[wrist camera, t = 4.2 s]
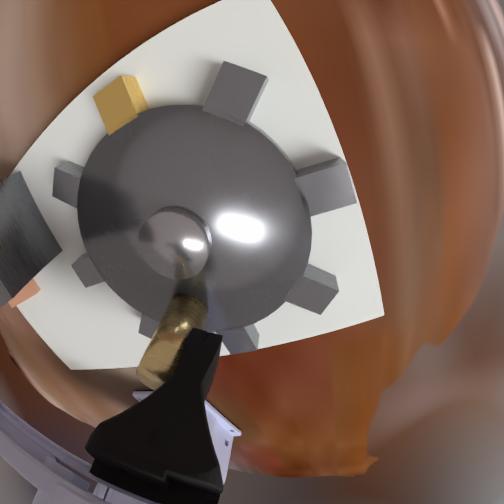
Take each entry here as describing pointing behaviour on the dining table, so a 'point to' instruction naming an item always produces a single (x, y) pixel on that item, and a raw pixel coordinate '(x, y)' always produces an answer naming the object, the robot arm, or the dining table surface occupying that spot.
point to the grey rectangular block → (21, 237)
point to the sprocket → (199, 217)
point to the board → (195, 93)
